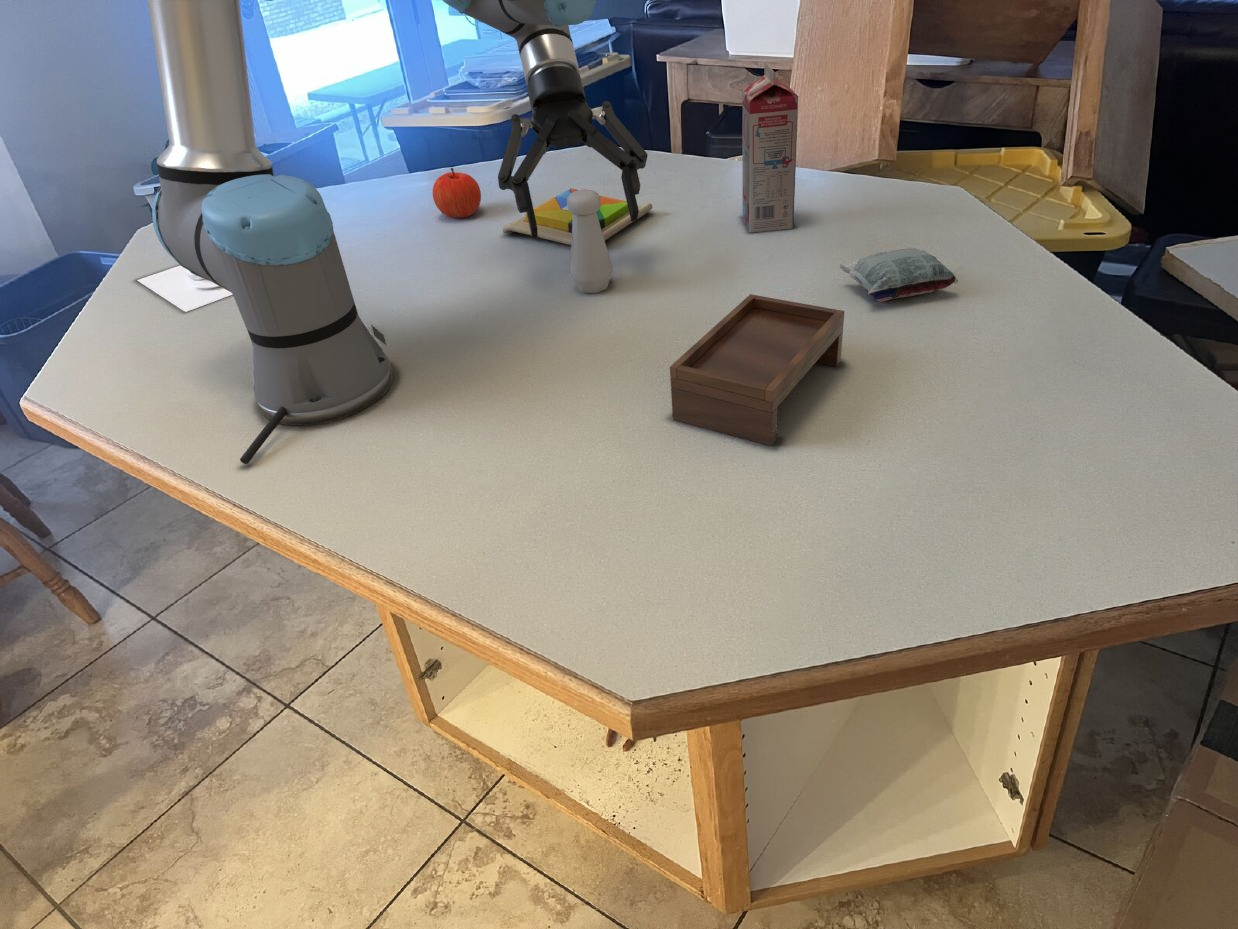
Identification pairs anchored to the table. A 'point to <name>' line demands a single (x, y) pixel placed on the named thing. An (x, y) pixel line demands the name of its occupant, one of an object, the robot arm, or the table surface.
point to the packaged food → (900, 274)
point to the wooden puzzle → (558, 219)
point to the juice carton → (769, 154)
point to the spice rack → (753, 365)
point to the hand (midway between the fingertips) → (585, 224)
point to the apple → (456, 194)
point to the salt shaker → (588, 243)
